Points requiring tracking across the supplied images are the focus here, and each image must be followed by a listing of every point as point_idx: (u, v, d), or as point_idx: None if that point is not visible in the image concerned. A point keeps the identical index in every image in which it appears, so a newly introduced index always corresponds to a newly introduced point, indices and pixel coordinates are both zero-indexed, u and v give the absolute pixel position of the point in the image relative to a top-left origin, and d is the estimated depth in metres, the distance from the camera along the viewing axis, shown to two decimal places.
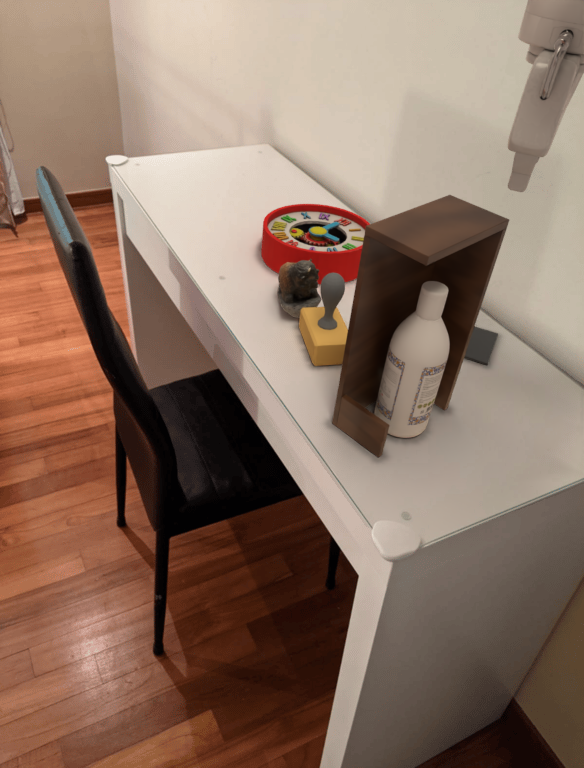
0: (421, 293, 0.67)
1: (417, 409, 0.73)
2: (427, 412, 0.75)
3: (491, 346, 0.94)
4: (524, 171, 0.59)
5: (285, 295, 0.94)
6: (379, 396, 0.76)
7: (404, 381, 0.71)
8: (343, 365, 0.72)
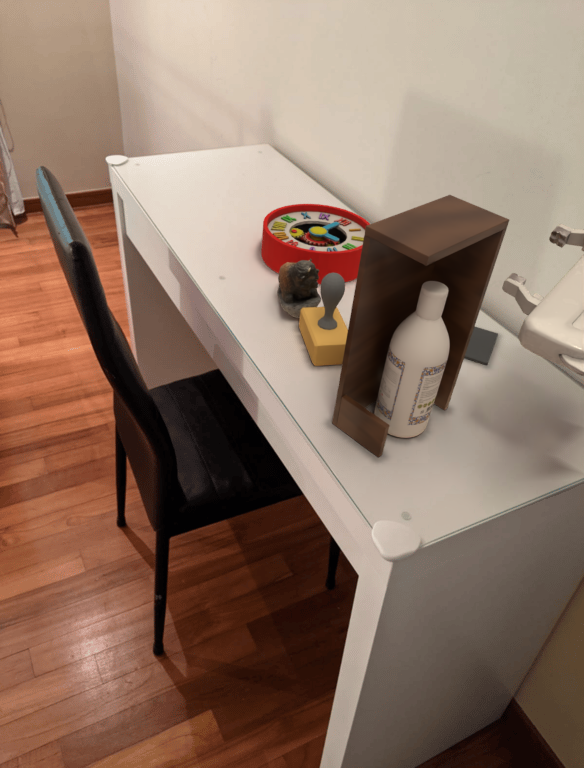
0: (421, 293, 0.67)
1: (417, 409, 0.73)
2: (427, 412, 0.75)
3: (491, 346, 0.94)
4: (517, 297, 0.66)
5: (285, 295, 0.94)
6: (379, 396, 0.76)
7: (404, 381, 0.71)
8: (343, 365, 0.72)
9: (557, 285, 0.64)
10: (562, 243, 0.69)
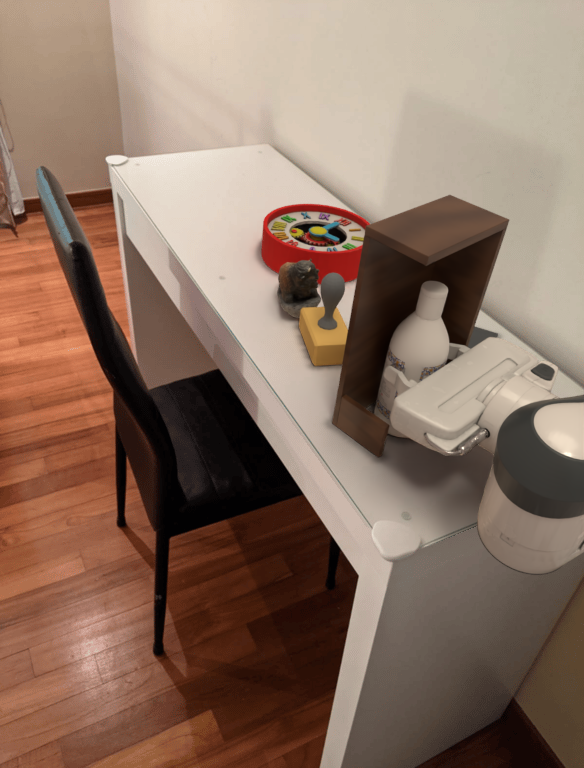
0: (421, 293, 0.67)
1: None
2: None
3: None
4: (396, 383, 0.69)
5: (285, 295, 0.94)
6: (379, 396, 0.76)
7: None
8: (343, 365, 0.72)
9: (429, 376, 0.68)
10: None
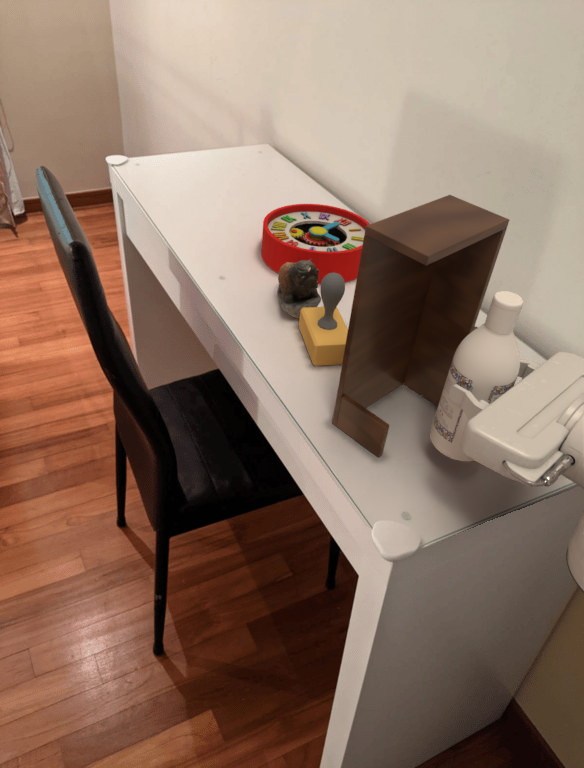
0: (493, 305, 0.61)
1: None
2: None
3: None
4: (464, 403, 0.63)
5: (285, 295, 0.94)
6: (438, 416, 0.70)
7: None
8: (343, 365, 0.72)
9: (501, 396, 0.61)
10: None
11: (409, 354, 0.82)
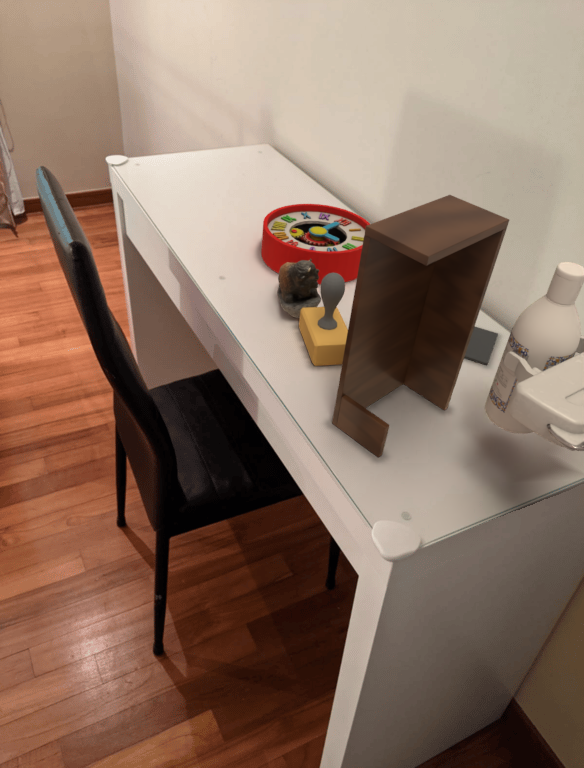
0: (555, 274, 0.61)
1: None
2: None
3: (491, 346, 0.94)
4: (517, 370, 0.64)
5: (285, 295, 0.94)
6: (493, 386, 0.71)
7: None
8: (343, 365, 0.72)
9: (555, 365, 0.62)
10: None
11: (409, 354, 0.82)
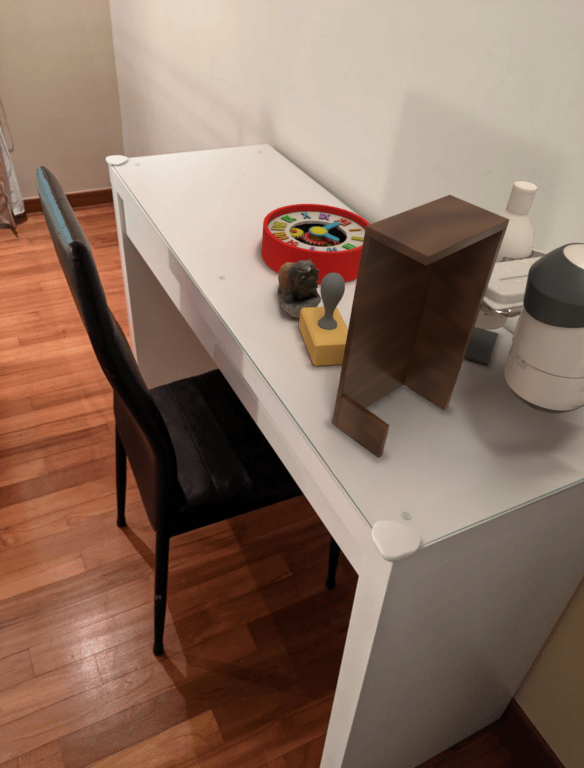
0: (512, 189, 0.78)
1: None
2: None
3: (491, 346, 0.94)
4: None
5: (285, 295, 0.94)
6: None
7: None
8: (343, 365, 0.72)
9: None
10: None
11: (409, 354, 0.82)
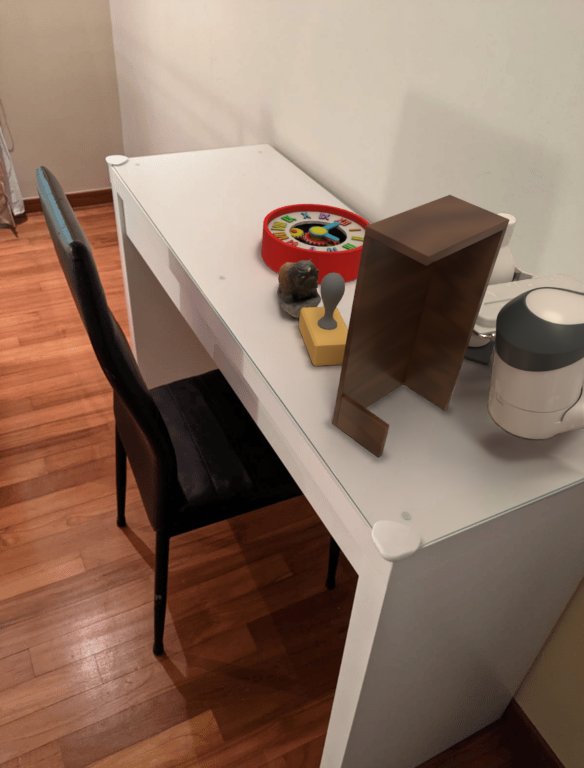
0: None
1: None
2: None
3: (491, 346, 0.94)
4: None
5: (285, 295, 0.94)
6: None
7: None
8: (343, 365, 0.72)
9: (488, 285, 0.82)
10: (513, 279, 0.88)
11: (409, 354, 0.82)
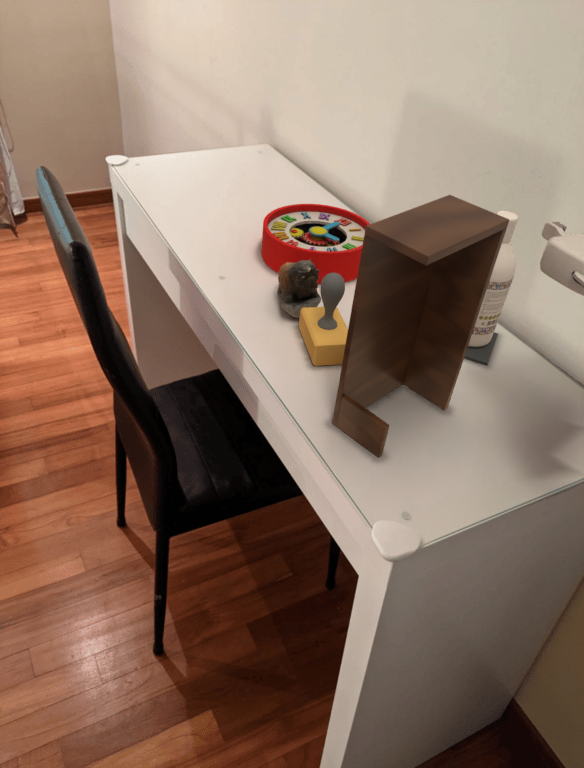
0: None
1: (478, 320, 0.90)
2: (488, 326, 0.90)
3: (491, 346, 0.94)
4: None
5: (285, 295, 0.94)
6: None
7: None
8: (343, 365, 0.72)
9: None
10: None
11: (409, 354, 0.82)
